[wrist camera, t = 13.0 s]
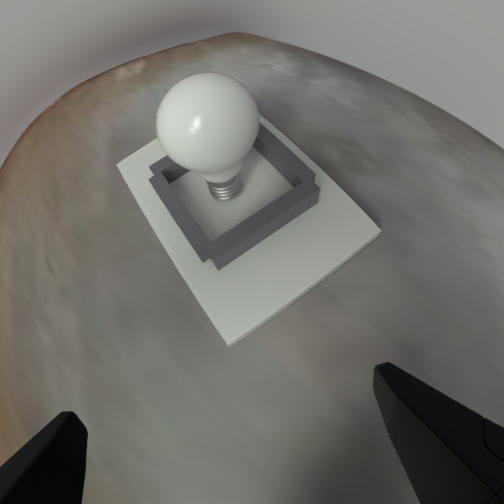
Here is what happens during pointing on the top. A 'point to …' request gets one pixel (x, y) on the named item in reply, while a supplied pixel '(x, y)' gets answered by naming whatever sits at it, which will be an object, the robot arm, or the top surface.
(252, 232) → the bulb holder
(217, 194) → the lightbulb
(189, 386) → the top surface
